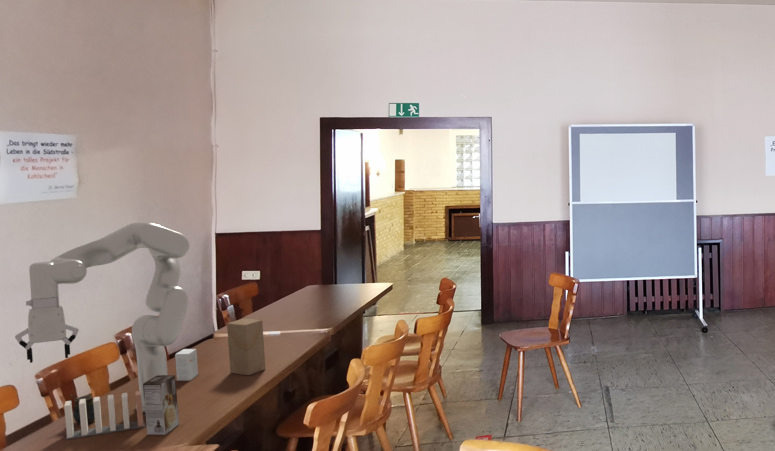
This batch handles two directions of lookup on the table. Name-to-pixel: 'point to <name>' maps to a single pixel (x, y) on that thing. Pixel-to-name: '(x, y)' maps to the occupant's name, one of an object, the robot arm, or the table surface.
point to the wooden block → (246, 346)
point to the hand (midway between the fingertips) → (49, 359)
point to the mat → (106, 430)
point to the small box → (186, 364)
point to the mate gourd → (88, 407)
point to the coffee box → (161, 404)
